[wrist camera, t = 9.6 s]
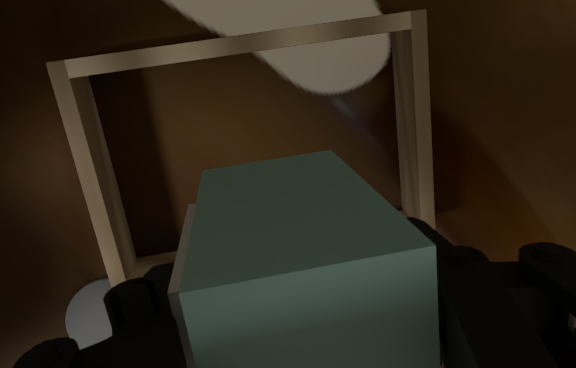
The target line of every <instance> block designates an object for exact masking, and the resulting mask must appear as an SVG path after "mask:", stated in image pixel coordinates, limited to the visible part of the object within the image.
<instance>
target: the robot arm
mask: <svg viewBox="0 0 576 368" xmlns="http://www.w3.org/2000/svg"><path fill="white" fill-rule="evenodd" d="M195 207H196V203H195V204H190V205H188V209H187V213H186V217H185V222H184V226H183V230H182V234H181V238H180V242H179V247H178V251H177V255H176V259H175V262H172V263H166V264H161V265H155V266H153V267H152V268H151V269H150V270H149V271H147V272H146V273H145V274H144V276H143V277H138V278H133V279H129V280H127V281H124V282H121V283H119V284H117V285H116V286H114V287H112V288H111V289H110V290H109V291H108V292H107V293H106V294H105V296H104V298H103V301H104V304H105V308H106V311H107V314H108V318H109V321H110V324H111V328H112V336H110V337H109V338H107V339H105V340H103V341H101V342H99V343H96V344H93V345H91V346H88V347H86V348H83V349H79V346H78V343H77V342H76V341H75V339H72V338H68V337H63V338H55V339H52V340H47V341H44V342H42V343H41V344H40V343H39V344H38V345H36V346H34V347H33V348H32V349H30V350H29V351H27V352H26V353H25V354H23V355H22V356H21V357H20V358H19V360H18V361H17V362H16V363H15V365H14V366H13V368H196V365H195V361H194V357H193V353H192V348H191V344H190V340H189V336H188V331H187V327H186V323H185V319H184V315H183V310H182V306H181V302H180V298H179V289H180V284H181V278H182V273H183V268H184V263H185V258H186V253H187V248H188V243H189V237H190V232H191V227H192V222H193V217H194V212H195ZM406 219H408V220H409V221H410V222H411V223H412V224H413V225H414V226H415V227H416V228H417V229H419V230H420V231H421V232H422V233H423V234H424V235H425V236H426V237H427V238H428V239H430V240H431V241H432V242H433V243H434V244H435V245H436V261H437V289H438V318H439V347H440V366H442V361H443V364H444V367H445V368H576V328H575V327H574V324H575V318H576V252H575V251H574V250H572V249H569V248H567V247H565V246H561V245H557V244H554V243H549V242H547V243H545V242H539V243H532V244H528V245H525V246H522V247H521V248H520V249H519V259H518V262H490V261H489V260H488V258H487V257H486V255H485V254H483V253H482V252H481V251H479V250H477V249H475V248H472V247H466V246H454V245H452V244H451V243H450V242H449V241H448V240H446V239H445V238H444V237H443V236H442V235H440V234H438V232H437V231H436V230H435V229H432V227H431V226H430V225H429V224H427V223H426V222H425V221H423V220H420V219H417V218H414V217H408V218H406Z"/></svg>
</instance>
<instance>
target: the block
mask: <svg viewBox="0 0 576 368" xmlns="http://www.w3.org/2000/svg"><path fill="white" fill-rule="evenodd" d="M179 298H180V302H181V306H182V310H183V315H184V319H185V323H186V327H187V331H188V336H189V340H190V344H191V348H192V353H193V357H194V361H195V365H196V368H440V347H439V318H438V289H437V261H436V245H435V244H434V243H433V242H432V241H431V240H430V239H428V238H427V237H426V236H425V235H424V234H423V233H422V232H421V231H420V230H419V229H417V228H416V227H415V226H414V225H413V224H412V223H411V222H410V221H409V220H408V219H406V218H405V217H404V216H403V215H402V214H401V213H400V212H399V211H398V210H397V209H395V208H394V207H393V206H392V205H391V204H390V203H389V202H388V201H387V200H386V199H384V198H383V197H382V196H381V195H380V194H379V193H378V192H377V191H376V190H375V189H373V188H372V187H371V186H370V185H369V184H368V183H367V182H366V181H365V180H363V179H362V178H361V177H360V176H359V175H358V174H357V173H356V172H355V171H354V170H352V169H351V168H350V167H349V166H348V165H347V164H346V163H345V162H344V161H343V160H341V159H340V158H339V157H338V156H337V155H336V154H335V153H334V152H333V151H332V150H326V151H320V152H314V153H308V154H302V155H296V156H290V157H283V158H277V159H271V160H265V161H259V162H253V163H247V164H241V165H234V166H228V167H222V168H216V169H210V170H204V171H202V176H201V181H200V186H199V191H198V196H197V202H196V207H195V212H194V217H193V222H192V227H191V232H190V237H189V243H188V248H187V253H186V258H185V263H184V268H183V273H182V278H181V284H180V289H179Z"/></svg>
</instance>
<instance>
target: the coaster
mask: <svg viewBox="0 0 576 368" xmlns="http://www.w3.org/2000/svg"><path fill="white" fill-rule="evenodd" d="M110 289H111V285H110V281H109V278H108V276H106V277H102V278H98V279H95V280H93V281H91V282H89V283H87V284H86V285H84V286H83V287H82V288H81V289H80V290H79V291H78V292H77V293H76V294H75V295H74V297H73V299H72V300H71V302H70V303H69V305H68V308H67V311H66V316H65V324H66V329H67V333H68V335H69V337H70V338H72V339H75V341H76V342H77V343H78V346H79V349H83V348H86V347H88V346H91V345H93V344H96V343H99V342H101V341H103V340H105V339H107V338H109V337H110V336H112V328H111V324H110V321H109V318H108V314H107V311H106V308H105V304H104V301H103V298H104V296H105V294H106V293H107V292H108V291H109V290H110Z"/></svg>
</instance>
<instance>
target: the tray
mask: <svg viewBox="0 0 576 368" xmlns="http://www.w3.org/2000/svg"><path fill="white" fill-rule="evenodd" d="M386 32H391V43H392V59H393V75H394V91H395V106H396V122H397V138H398V154H399V169H400V185H401V201H402V211H399V212H400V213H401V214H402V215H403V216H404V217H405V218H408V217H414V218H417V219H420V220H423V221H425V222H426V223H427V224H429V225H430V226H431V227H432V229H435V210H434V185H433V160H432V135H431V110H430V85H429V60H428V35H427V10H426V9H422V10H415V11H408V12H401V13H394V14H387V15H380V16H373V17H366V18H358V19H352V20H345V21H337V22H330V23H323V24H316V25H309V26H302V27H294V28H288V29H281V30H273V31H267V32H259V33H252V34H245V35H238V36H231V37H224V38H216V39H209V40H202V41H195V42H188V43H181V44H174V45H167V46H160V47H153V48H146V49H138V50H131V51H124V52H117V53H110V54H103V55H96V56H89V57H82V58H75V59H67V60H60V61H53V62H46V66H47V69H48V73H49V76H50V80H51V83H52V87H53V90H54V93H55V97H56V100H57V104H58V107H59V110H60V114H61V117H62V121H63V124H64V128H65V131H66V134H67V138H68V141H69V145H70V148H71V151H72V155H73V158H74V162H75V165H76V169H77V172H78V175H79V179H80V182H81V186H82V189H83V192H84V196H85V199H86V203H87V206H88V210H89V213H90V216H91V220H92V223H93V227H94V230H95V233H96V237H97V240H98V244H99V247H100V251H101V254H102V257H103V261H104V264H105V268H106V271H107V275H108V278H109V281H110V285H111V288H112V287H114V286H116V285H117V284H119V283H121V282H124V281H127V280H129V279H133V278H138V277H143V276H144V274H145V273H146V272H147V271H149V270H150V269H151V268H152V267H153V266H155V265H161V264H166V263H172V262H175V259H176V255H177V251H173V252H168V253H162V254H157V255H151V256H145V257H140V258H137V256H136V253H135V249H134V245H133V241H132V238H131V234H130V230H129V226H128V223H127V219H126V215H125V211H124V208H123V204H122V200H121V196H120V193H119V189H118V185H117V181H116V178H115V174H114V170H113V166H112V163H111V159H110V155H109V151H108V148H107V144H106V140H105V136H104V133H103V129H102V125H101V121H100V118H99V114H98V110H97V106H96V103H95V99H94V95H93V91H92V88H91V84H90V80H89V75H96V74H103V73H109V72H116V71H123V70H130V69H137V68H144V67H151V66H158V65H165V64H172V63H179V62H186V61H193V60H199V59H206V58H213V57H220V56H227V55H234V54H241V53H248V52H255V51H261V50H269V49H275V48H282V47H290V46H296V45H303V44H310V43H317V42H324V41H331V40H338V39H344V38H351V37H358V36H366V35H373V34H379V33H386Z"/></svg>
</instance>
